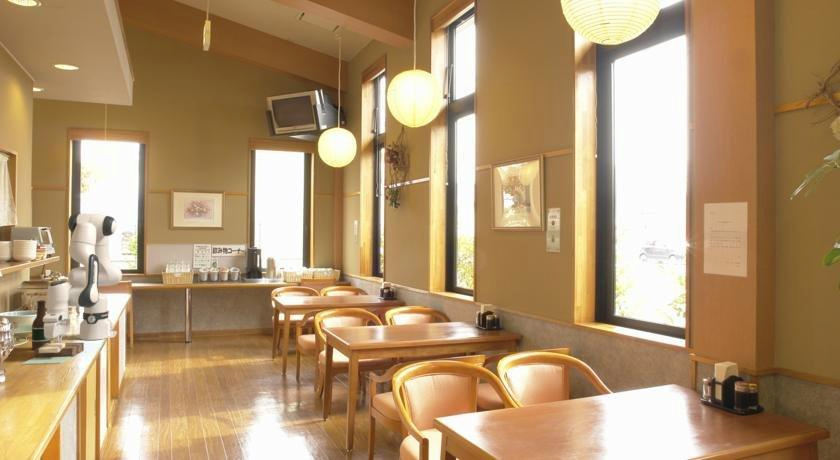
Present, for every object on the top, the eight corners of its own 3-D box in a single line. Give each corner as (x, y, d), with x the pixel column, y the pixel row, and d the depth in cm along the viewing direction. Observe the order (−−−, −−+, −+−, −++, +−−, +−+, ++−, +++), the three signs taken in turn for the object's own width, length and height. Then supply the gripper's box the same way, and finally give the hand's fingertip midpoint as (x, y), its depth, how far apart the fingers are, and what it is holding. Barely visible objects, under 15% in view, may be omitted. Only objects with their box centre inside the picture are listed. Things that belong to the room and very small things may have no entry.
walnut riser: (48, 351, 287) (48, 343, 287) (83, 350, 290) (83, 342, 290) (34, 358, 274) (34, 349, 274) (72, 357, 276) (72, 348, 276)
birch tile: (46, 347, 277) (46, 343, 277) (65, 346, 279) (65, 342, 278) (38, 352, 270) (38, 348, 269) (57, 352, 271) (57, 348, 271)
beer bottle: (54, 347, 297) (54, 299, 297) (42, 350, 289) (42, 301, 289) (39, 347, 298) (39, 299, 297) (28, 350, 290) (28, 301, 290)
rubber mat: (34, 358, 273) (34, 357, 273) (71, 357, 276) (71, 356, 276) (21, 364, 261) (21, 363, 261) (60, 363, 264) (60, 362, 264)
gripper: (60, 312, 289) (60, 340, 289) (40, 318, 269) (40, 349, 269) (74, 312, 290) (74, 340, 290) (56, 318, 270) (56, 348, 270)
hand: (57, 344), depth 279 cm, fingers closed
